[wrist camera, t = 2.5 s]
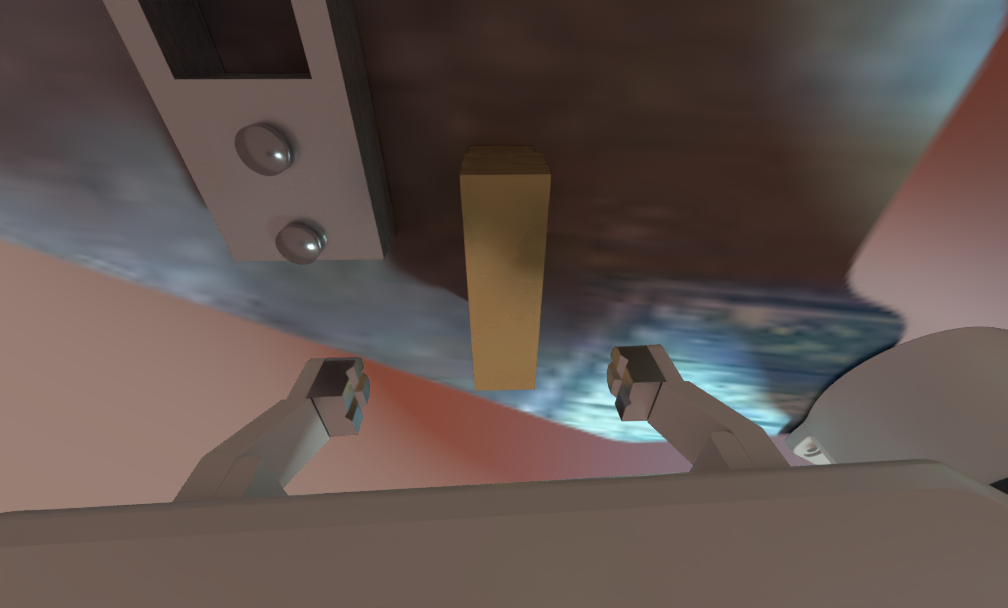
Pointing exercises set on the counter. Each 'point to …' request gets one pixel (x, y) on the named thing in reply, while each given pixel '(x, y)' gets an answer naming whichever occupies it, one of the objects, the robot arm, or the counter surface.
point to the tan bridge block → (504, 260)
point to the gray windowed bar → (271, 132)
